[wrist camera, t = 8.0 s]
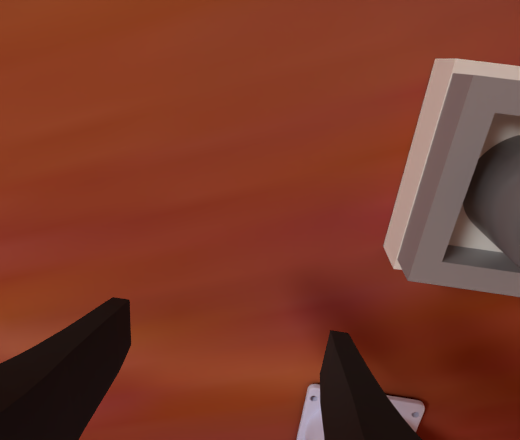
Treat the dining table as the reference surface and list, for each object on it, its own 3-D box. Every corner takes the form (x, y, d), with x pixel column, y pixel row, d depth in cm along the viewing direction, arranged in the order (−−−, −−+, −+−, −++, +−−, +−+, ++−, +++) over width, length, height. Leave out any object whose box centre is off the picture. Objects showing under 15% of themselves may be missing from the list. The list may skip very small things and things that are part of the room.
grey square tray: (542, 269, 21) (601, 319, 17) (383, 246, 22) (403, 290, 17) (632, 82, 17) (738, 89, 13) (435, 58, 18) (477, 58, 13)
